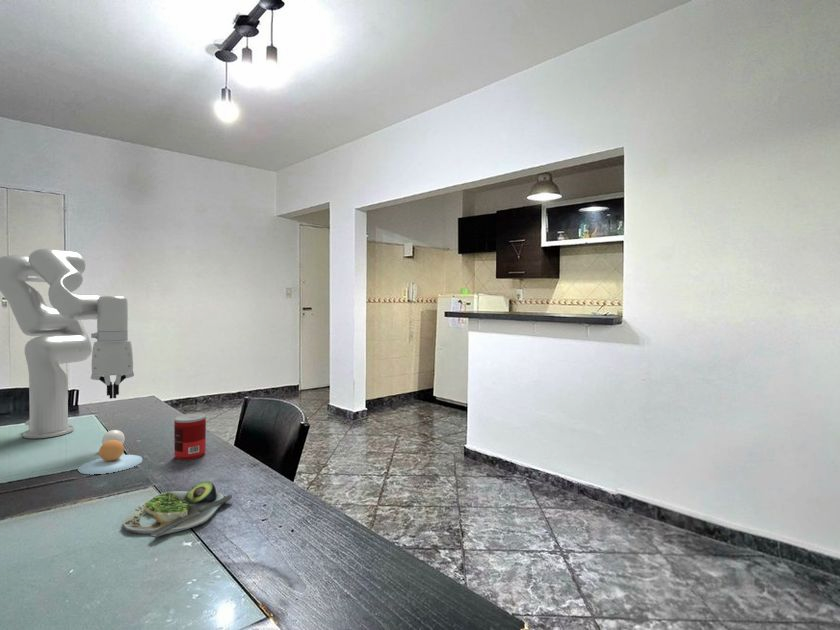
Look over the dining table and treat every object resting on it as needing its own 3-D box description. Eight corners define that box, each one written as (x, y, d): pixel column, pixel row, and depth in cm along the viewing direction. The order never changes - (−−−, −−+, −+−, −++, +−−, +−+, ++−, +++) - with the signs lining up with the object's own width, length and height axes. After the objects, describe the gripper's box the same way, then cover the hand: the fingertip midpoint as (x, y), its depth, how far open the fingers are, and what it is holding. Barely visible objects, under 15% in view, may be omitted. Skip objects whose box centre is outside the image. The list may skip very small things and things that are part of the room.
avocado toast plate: (198, 545, 80) (198, 520, 80) (97, 545, 80) (97, 520, 80) (238, 498, 100) (238, 477, 100) (157, 498, 99) (157, 477, 99)
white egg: (97, 431, 127) (96, 451, 126) (115, 429, 127) (114, 449, 126) (111, 430, 133) (111, 449, 132) (129, 428, 132) (129, 447, 131)
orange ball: (94, 445, 120) (93, 459, 116) (113, 432, 121) (112, 446, 117) (110, 454, 123) (110, 468, 119) (128, 442, 124) (128, 455, 120)
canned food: (211, 451, 129) (211, 413, 128) (194, 461, 121) (194, 421, 120) (186, 450, 129) (186, 412, 129) (168, 459, 122) (168, 419, 121)
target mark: (64, 470, 112) (64, 470, 112) (115, 453, 126) (115, 452, 126) (106, 477, 109) (106, 477, 109) (154, 458, 122) (154, 458, 122)
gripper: (80, 338, 126) (80, 402, 126) (142, 337, 134) (142, 397, 134) (82, 336, 132) (82, 398, 132) (141, 335, 140) (141, 392, 141)
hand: (112, 397), depth 133 cm, fingers closed
